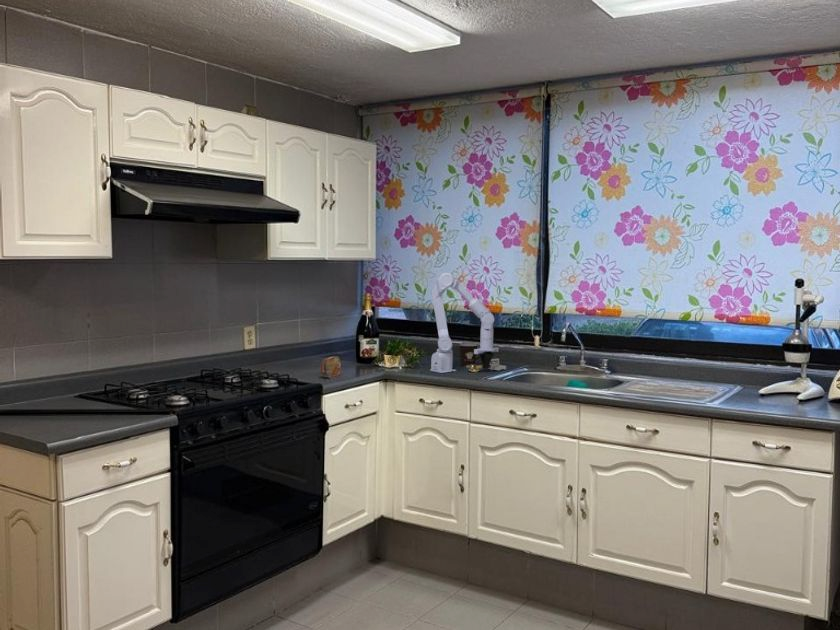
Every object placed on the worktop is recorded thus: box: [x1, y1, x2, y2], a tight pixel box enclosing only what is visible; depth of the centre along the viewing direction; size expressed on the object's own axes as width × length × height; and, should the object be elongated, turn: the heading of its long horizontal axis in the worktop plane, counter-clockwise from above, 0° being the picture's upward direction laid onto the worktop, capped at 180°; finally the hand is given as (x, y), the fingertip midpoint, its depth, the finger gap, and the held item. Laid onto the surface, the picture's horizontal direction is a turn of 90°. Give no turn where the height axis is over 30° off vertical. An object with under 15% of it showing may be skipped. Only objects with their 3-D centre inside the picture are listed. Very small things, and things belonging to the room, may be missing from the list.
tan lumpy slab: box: [321, 355, 342, 379], centre depth 319 cm, size 15×3×8 cm, turn 161°
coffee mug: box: [458, 343, 481, 367], centre depth 356 cm, size 12×9×10 cm
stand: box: [488, 358, 507, 371], centre depth 348 cm, size 8×5×4 cm, turn 134°
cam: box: [465, 363, 491, 373], centre depth 341 cm, size 11×6×3 cm, turn 112°
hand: (485, 368), depth 340 cm, fingers closed
